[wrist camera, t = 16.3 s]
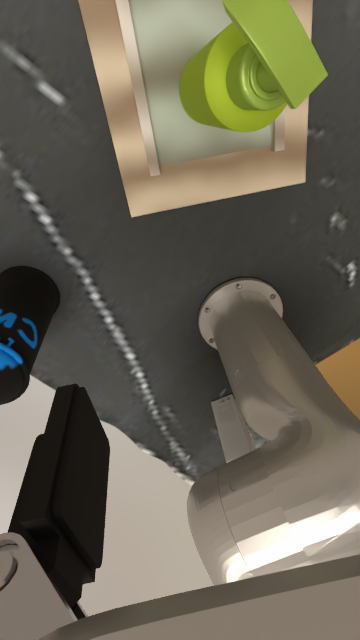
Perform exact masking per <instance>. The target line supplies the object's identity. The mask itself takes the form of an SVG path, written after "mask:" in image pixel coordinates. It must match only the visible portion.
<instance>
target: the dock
mask: <svg viewBox="0 0 360 640" xmlns="http://www.w3.org/2000/svg"><path fill="white" fill-rule="evenodd" d="M78 1H79V5H80V9H81V13H82V17H83V21H84V26H85V30H86V34H87V38H88V42H89V46H90V50H91V54H92V58H93V62H94V66H95V70H96V75H97V79H98V83H99V87H100V91H101V95H102V99H103V103H104V107H105V111H106V115H107V120H108V124H109V128H110V132H111V136H112V140H113V144H114V148H115V152H116V156H117V160H118V164H119V169H120V173H121V177H122V181H123V185H124V189H125V193H126V197H127V201H128V205H129V209H130V214H131V217H135V216H140V215H145V214H150V213H155V212H160V211H165V210H170V209H175V208H180V207H185V206H190V205H195V204H200V203H205V202H210V201H215V200H220V199H224V198H229V197H234V196H239V195H244V194H249V193H254V192H259V191H264V190H269V189H274V188H279V187H284V186H289V185H294V184H299V183H304V182H305V175H306V150H307V126H308V101H309V96H308V97H307V98H306V99H305V100H304V101H303V102H302V103H301V104H300V105H299V106H298V107H297V108H296V109H290V107H289V106H288V104H287V105H286V107H285V108H284V110H283V111H282V113H281V114H280V115H279V116H278V117H277V118H276V119H275V120H274V121H273V122H272V123H270V124H269V125H268V126H266V127H264V128H262V129H260V130H257V131H253V132H237V131H232V130H227V129H223V128H218V127H213V126H209V125H204V124H200V123H198V122H196V121H194V120H193V119H192V118H190V117H189V115H188V114H187V113H186V111H185V110H184V108H183V106H182V103H181V100H180V95H179V83H180V77H181V74H182V71H183V69H184V67H185V65H186V64H187V62H188V61H189V60H190V59H191V58H192V57H193V56H194V55H195V54H196V53H197V52H198V51H200V50H201V49H202V48H203V47H204V46H205V45H206V44H208V43H209V42H210V41H211V40H212V39H213V38H214V37H216V36H217V35H218V34H219V33H220V32H221V31H222V30H224V29H225V28H226V27H227V26H228V25H229V24H231V23H232V20H231V19H230V18H229V16H228V15H227V13H226V11H225V8H224V5H223V0H78ZM287 1H288V2H289V4H290V6H291V7H292V9H293V11H294V12H295V14H296V16H297V17H298V19H299V21H300V23H301V24H302V26H303V28H304V30H305V32H306V33H307V35H308V37H309V39H310V41H311V28H312V3H313V0H287Z"/></svg>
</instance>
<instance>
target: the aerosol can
mask: <svg viewBox="0 0 360 640" xmlns="http://www.w3.org/2000/svg"><path fill="white" fill-rule="evenodd" d="M59 303H60V295H59V291H58V289H57V286H56V285H55V283H54V282H53V281H52V280H51V279H50V278H49V277H48V276H47V275H46V274H44V273H43V272H41V271H39V270H37V269H34V268H30V267H13V268H9V269H7V270H5V271H3V272H2V273H1V274H0V405H2V404H5V403H9V402H11V401H14V400H15V399H17V398H18V397H20V396H21V395H22V394H23V393H24V392H25V390H26V389H27V387H28V385H29V380H30V372H31V369H32V367H33V364H34V362H35V359H36V357H37V354H38V352H39V349H40V347H41V344H42V342H43V339H44V336H45V334H46V331H47V329H48V326H49V324H50V321H51V319H52V316H53V314H54V313H55V312H56V310H57V309H58V306H59Z"/></svg>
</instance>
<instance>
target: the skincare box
mask: <svg viewBox="0 0 360 640" xmlns="http://www.w3.org/2000/svg"><path fill="white" fill-rule="evenodd" d="M211 405H212V409H213V413H214V416H215V420H216V424H217V428H218V432H219V436H220V440H221V444H222V447H223V451H224V455H225V459H226V462H227V463H228V462H230V461H232V460H234V459H236V458H238V457H240V456H243V455H245V454H247V453H249V452H251V451H253V450H255V449H254V446H253V443H252V440H251V438H250V435H249V432H248V429H247V426H246V423H245V420H244V419H243V417H242V415H241V413H240V411H239V409H238V406H237V403H236V401H235V399H234V397H233V395H232V394H230V395H228V396H225V397H223V398H220V399H218V400H215V401H213V402H211Z"/></svg>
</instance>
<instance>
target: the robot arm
mask: <svg viewBox="0 0 360 640" xmlns="http://www.w3.org/2000/svg"><path fill="white" fill-rule="evenodd" d="M237 284H238V285H237ZM282 315H283V305H282V301H281V299H280V296H279V295H278V293H277V292H276V291H275V290H274V288H273V287H272V286H270V285H269V284H268V283H266V282H264V281H262V280H259V279H255V278H238V279H233V280H230V281H227V282H225V283H223V284H221V285H220V286H218V287H217V288H215V289H214V290H213V291H212V292H211V293H210V294H209V295H208V296H207V297H206V299H205V300H204V302H203V303H202V305H201V308H200V310H199V315H198V325H199V329H200V332H201V334H202V337H203V338H204V340H205V341H206V342H207V343H208V344H209V345H210V346H211V347H213V348H215V349H217V350H218V352H219V355H220V358H221V360H222V363H223V366H224V369H225V372H226V375H227V377H228V380H229V383H230V386H231V389H232V392H233V394H234V397H235V400H236V403H237V406H238V409H239V411H240V413H241V415H242V417H243V419H244V420H245V422H246V423H247V424H248V425H249V426H250V427H251V428H252V429H253V430H254V431H255V432H257V433H258V434H259V435H261V436H262V437H264V438H265V439H267V440H269V441H270V442H268V443H266V444H264V445H262V446H261V447H260V448H258V449H255V450H253V451H251V452H249V453H247V454H245V455H243V456H240V457H238V458H236V459H234V460H232V461H230V462H228V463H225V464H223V465H221V466H219V467H217V468H215V469H213V470H211V471H209V472H208V473H206V474H204V475H203V476H201V477H200V478H199V479H198V480H197V481H196V482H195V483H194V484H193V486H192V488H191V490H190V492H189V496H188V500H187V514H188V521H189V526H190V529H191V533H192V536H193V539H194V542H195V545H196V548H197V550H198V552H199V555H200V557H201V559H202V562H203V564H204V566H205V568H206V570H207V572H208V574H209V576H210V578H211V580H212V582H213V584H214V586H211V587H206V588H202V589H198V590H192V591H188V592H184V593H179V594H174V595H170V596H166V597H162V598H158V599H153V600H149V601H146V602H141V603H137V604H133V605H128V606H124V607H121V608H116V609H112V610H109V611H106V612H102V613H99V614H96V615H92V616H89V617H88V616H87V614H86V613H85V611H84V610H83V608H82V606H81V605H80V603H79V602H78V600H79V599H80V598H81V593H82V585H83V584H85V583H91V582H95V570H96V568H100V567H101V564H102V557H103V541H104V528H105V514H106V498H107V484H108V471H109V456H110V446H109V441H108V438H107V436H106V434H105V432H104V429H103V427H102V425H101V423H100V420H99V418H98V416H97V414H96V411H95V409H94V407H93V405H92V402H91V400H90V398H89V396H88V394H87V391H86V389H85V388H84V387H79V386H78V385H77V384H72V385H67V386H62V387H58V388H57V390H56V393H55V397H54V400H53V403H52V407H51V411H50V414H49V418H48V422H47V425H46V429H45V433H44V434H41V435H39V436H38V437H37V438H36V440H35V442H34V446H33V449H32V452H31V456H30V459H29V462H28V466H27V469H26V472H25V476H24V479H23V483H22V486H21V489H20V493H19V496H18V499H17V503H16V506H15V509H14V513H13V516H12V519H11V523H10V526H9V530H8V533H3V534H0V640H360V420H359V419H358V418H357V417H356V416H355V415H354V414H353V413H352V411H350V409H349V408H348V407H347V406H346V405H345V404H344V403H343V402H342V400H341V399H340V398H339V397H338V395H337V394H336V393H335V392H334V391H333V389H332V388H331V387H330V385H329V384H328V383H327V381H326V380H325V379H324V377H323V376H322V374H321V373H320V372H319V370H318V369H317V367H316V366H315V365H314V363H313V362H312V360H311V359H310V358H309V356H308V355H307V353H306V352H305V350H304V349H303V348H302V346H301V345H300V343H299V342H298V341H297V339H296V338H295V336H294V335H293V334H292V332H291V331H290V329H289V328H288V327H287V325H286V324H285V322H284V321H283V320H282Z"/></svg>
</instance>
